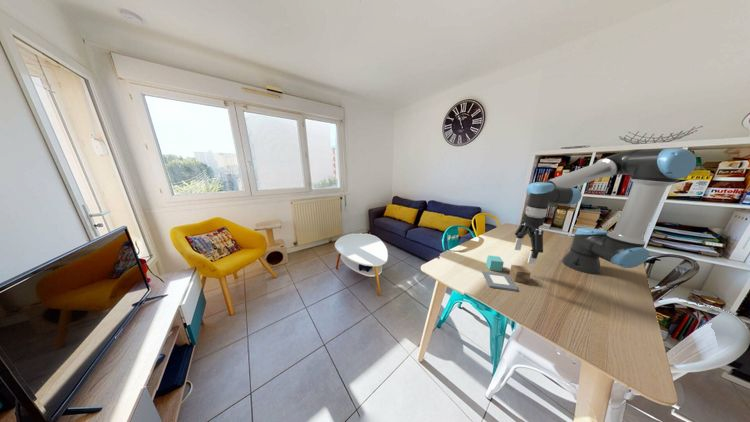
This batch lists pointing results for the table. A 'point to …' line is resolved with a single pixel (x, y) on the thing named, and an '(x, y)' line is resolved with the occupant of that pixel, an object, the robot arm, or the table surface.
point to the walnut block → (519, 273)
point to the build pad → (499, 281)
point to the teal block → (494, 263)
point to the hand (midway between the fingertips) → (523, 256)
